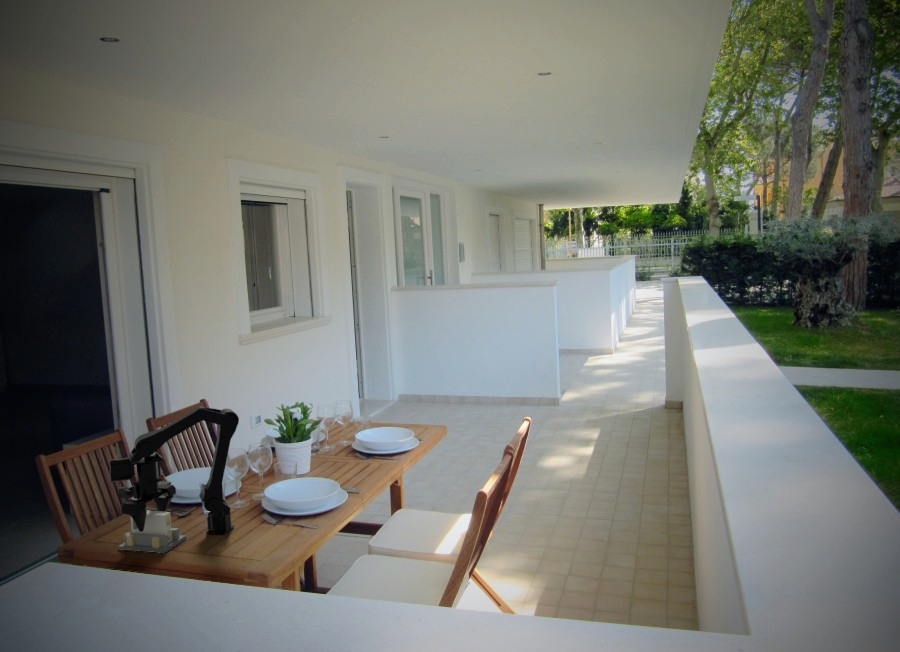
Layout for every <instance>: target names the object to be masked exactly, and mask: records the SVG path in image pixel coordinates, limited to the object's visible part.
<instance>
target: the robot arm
mask: <svg viewBox="0 0 900 652" xmlns="http://www.w3.org/2000/svg"><path fill="white" fill-rule="evenodd" d="M202 421H203V422H206V423H207V422H208V423H212V424H215V425H216V434H217V438H216V443H215V446H214V452H213V457H212V463H211V467H210V473H209V478H208V480H207V482H206V484H205V483H202V484H201V486H200V488H201V489H200V492H199V495H198V496H199V498H200V501H201V503H202V506H203V507H204V509H205V510H206V511H208V513H207V517H206V520H207V523H206V524H207V530H206V532H205V534H208V535H220V536H223V535H225V534H227V533H228V532H230V531H232V530H233V529H234V528H235V525H232V516H231V515H232V514H231V507H230V505H229V504H228V503H227V501H226V499H224V490H223V489H224V487H223V480H224V476H225V475H224V474H225V470H226V464H227V458H228V455H229V450H230V445H231V439H232V438H233V436H234V435H235V433H236V431H237V428H238V425H239V421H240V418H239V416H238V414H237V413H236V412H235V411H233V410H232V408H231V409H230V408H223V409H219V408H218V409H217V408H212V407H205V406H202V405H200V406H196V407H195V408H194V409H192V410H191V411H189V412H187V413H186V414H184V415H182V416H180V417H179V418H177V419H176V420H174V421H172V422H170V423H168V424H167V425H165V426H163V427H161V428H159V429H156V430H155V429H154V430H151V431H149V432H146V433H143V434H141V435H139V436H137V438H135V440H134V443H133V444H134V447H133V448H132V449H131V451H130V453H129V454H128V457H122V458H111V459H109V479H110V483H115V482H117V483H118V482H124V481H129V480H132V478H134V476H137V477H136V478H137V480H135V481H134V482H133V485H131V486H129V487H128V486H126V485H125V486H123V487H121V488H118V497H119V498H120V499H121V500H122V499H123V500H124V501H125V502H123V503H122V504H121V505H120V514H124V515H129V516H131V517H132V518H133V520H134V522H135V523H136V525H137V527H138V529H139V531H140V532H143V530H144V526H145V520H146V514H147V509H146V508H147V504H148V503H150V502H152V501H154V502H155V504H156V511H165V512H166V511H167V509H169V506H170V504H171V503H172V500H173V499H174V496H175V495H176V494H177V489H176V486H175V485H173V484H171V485H159V486H158V482H160V481H161V478H158V477H159V476H158V475H159V474H158V464H157V463H158V462H162V461H163V460H164V458H163V456H162V455H160V454H159V453H158V450H160V449H161V448H162V447H163V446H164V445H165V444H166V443H167V442H169V440H171V439H173V438H175V437H176V436H178V435H179V434H182V433H183V432H185V431H186V430H188V429H190V428H192V427H193V426H195V425H197V424H199V423H200V422H202ZM135 466H136V473H135ZM131 498H133V499H131ZM127 500H128V501H127ZM131 517H130V518H131Z"/></svg>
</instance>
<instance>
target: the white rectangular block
mask: <svg viewBox="0 0 900 652" xmlns="http://www.w3.org/2000/svg"><path fill="white" fill-rule="evenodd" d="M146 510H147V509H146ZM129 516H130V515H129ZM171 517H172V516H171V512H165V511H157V510H150V509H149V510H147V514H146V520H145V526H144V530H143V532H140V531H139V529H138V527H137V525H136V523H135V522H134V520H133V518H132V517H131V516H130V527H131V529H130V530H131V533H140V534H153V535H167V540H168V543H169V542H170V541H172V528H173V527H172V518H171Z"/></svg>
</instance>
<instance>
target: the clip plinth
mask: <svg viewBox="0 0 900 652" xmlns="http://www.w3.org/2000/svg"><path fill="white" fill-rule="evenodd" d="M171 528H172V541H170V542H169V543H168V540H167V535H153V534H140V533H132V532H126V533H125V534H124V537H123V538H124V542H123V543H121V544H120V545H117V550H118V549H131V550H140V551H154V552H160V553H164V554H166V553H167V552H169V551H170V550H173V547H174V546H175V547H177V546H178V545H180V544H181V543H183V542H185V541H186V540H187V535H184V534H180V528H179V527H177V528H175V527H171ZM176 545H177V546H176ZM175 547H174V548H175ZM168 550H169V551H168ZM166 551H167V552H166ZM165 552H166V553H165ZM160 553H159V554H160Z"/></svg>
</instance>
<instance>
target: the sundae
mask: <svg viewBox="0 0 900 652" xmlns="http://www.w3.org/2000/svg"><path fill="white" fill-rule="evenodd" d="M158 478H161V481H160V482H158V486H159V485H173V484H172V482H171V481H170V480H169V479H168V478H167V477H166V476H165V475H164V471H161V474H160V475H159V476H158ZM168 509H169V508H167V511H169V510H170V509H169V510H168ZM167 511H166V512H167Z"/></svg>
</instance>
